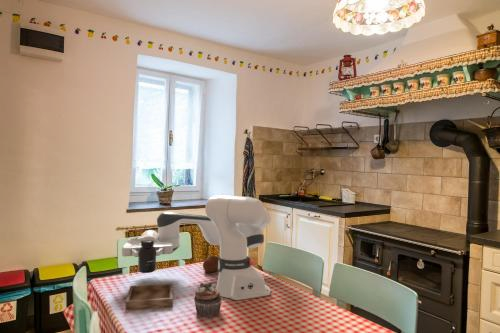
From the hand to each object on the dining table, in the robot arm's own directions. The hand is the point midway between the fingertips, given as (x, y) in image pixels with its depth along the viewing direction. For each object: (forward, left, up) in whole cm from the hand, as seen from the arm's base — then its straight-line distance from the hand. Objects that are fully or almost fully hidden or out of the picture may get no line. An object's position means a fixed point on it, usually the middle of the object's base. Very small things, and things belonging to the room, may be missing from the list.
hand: (147, 254), depth 135 cm
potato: (-29, -24, -16) cm, 41 cm away
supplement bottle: (0, -1, -7) cm, 7 cm away
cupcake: (-22, +22, -16) cm, 35 cm away
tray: (-2, +7, -16) cm, 17 cm away
